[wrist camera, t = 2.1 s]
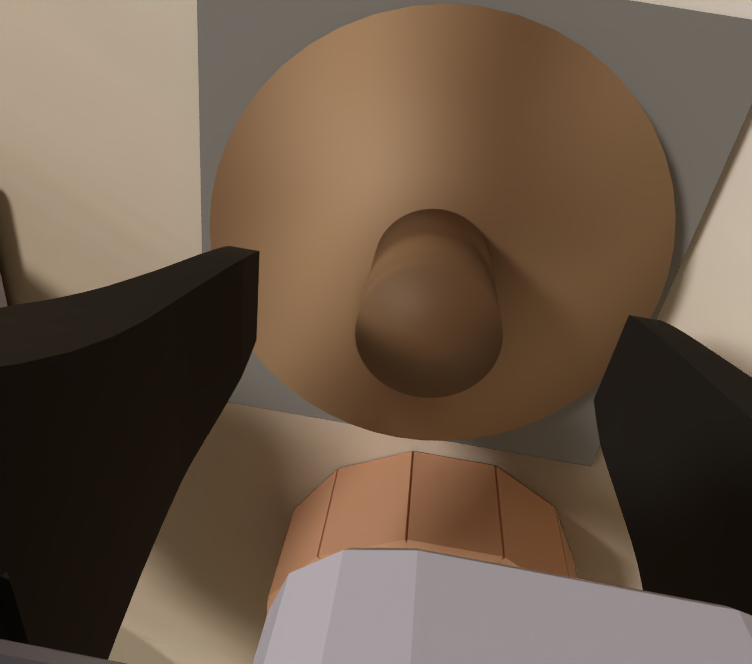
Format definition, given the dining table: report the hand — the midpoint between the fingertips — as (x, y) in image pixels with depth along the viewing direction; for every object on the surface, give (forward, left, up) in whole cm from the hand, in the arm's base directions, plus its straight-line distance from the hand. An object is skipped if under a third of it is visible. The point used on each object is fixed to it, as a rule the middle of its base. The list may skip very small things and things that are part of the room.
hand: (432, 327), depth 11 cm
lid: (0, 0, -4) cm, 4 cm away
